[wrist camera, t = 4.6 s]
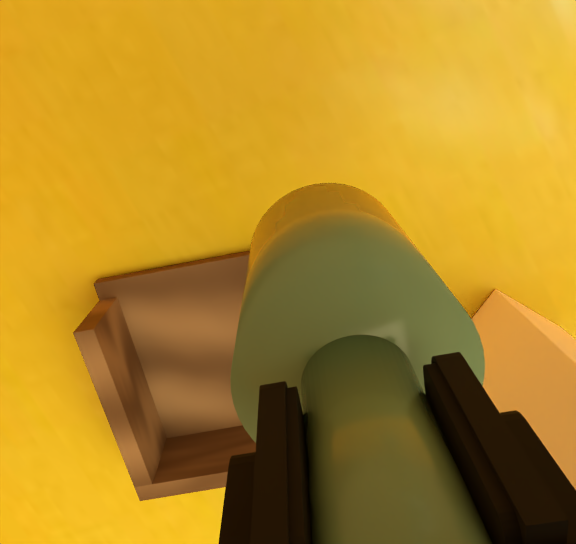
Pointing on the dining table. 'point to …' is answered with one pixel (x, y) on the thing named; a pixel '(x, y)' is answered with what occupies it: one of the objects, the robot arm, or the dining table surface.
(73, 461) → the dining table surface
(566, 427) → the milk
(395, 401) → the bottle
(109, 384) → the u rest
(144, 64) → the dining table surface
